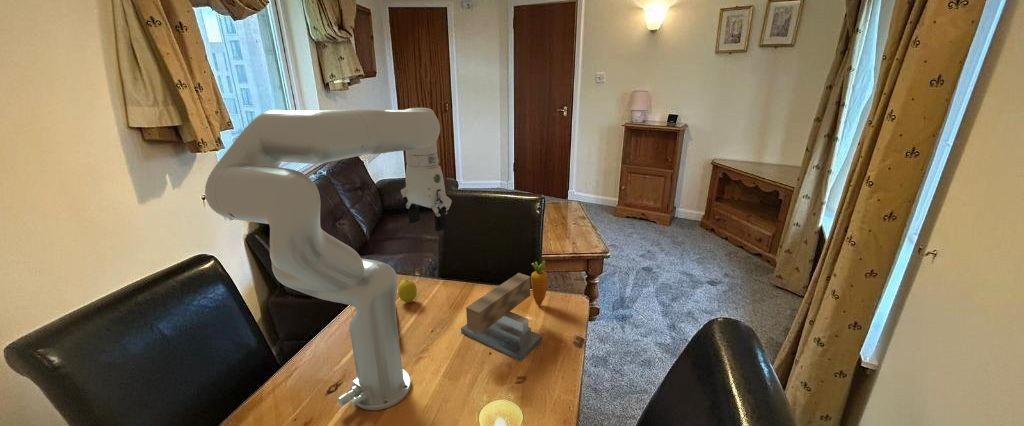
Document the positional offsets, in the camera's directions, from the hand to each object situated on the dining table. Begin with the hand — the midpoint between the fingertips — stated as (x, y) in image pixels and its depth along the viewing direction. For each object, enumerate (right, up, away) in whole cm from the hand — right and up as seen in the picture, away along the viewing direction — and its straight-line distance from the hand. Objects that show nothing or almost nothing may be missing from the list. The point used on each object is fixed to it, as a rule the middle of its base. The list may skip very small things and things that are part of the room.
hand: (427, 225), depth 104 cm
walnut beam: (+19, -23, +3) cm, 30 cm away
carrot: (+30, -25, +20) cm, 44 cm away
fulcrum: (+19, -30, +5) cm, 36 cm away
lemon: (-10, -25, +22) cm, 35 cm away
